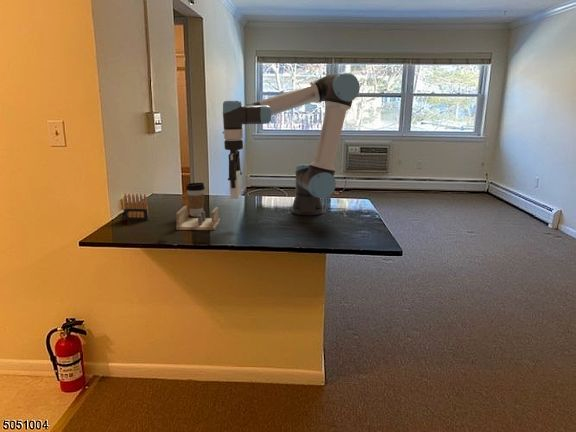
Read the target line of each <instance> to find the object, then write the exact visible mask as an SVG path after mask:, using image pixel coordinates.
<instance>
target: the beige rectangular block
mask: <svg viewBox="0 0 576 432" xmlns="http://www.w3.org/2000/svg"><path fill="white" fill-rule="evenodd" d="M232 177H234V176H232ZM236 180H237V196H231V195H230V199H235V200H236V199H239V198H240V196H241V195H242V184H241V175H240V171H236Z"/></svg>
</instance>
